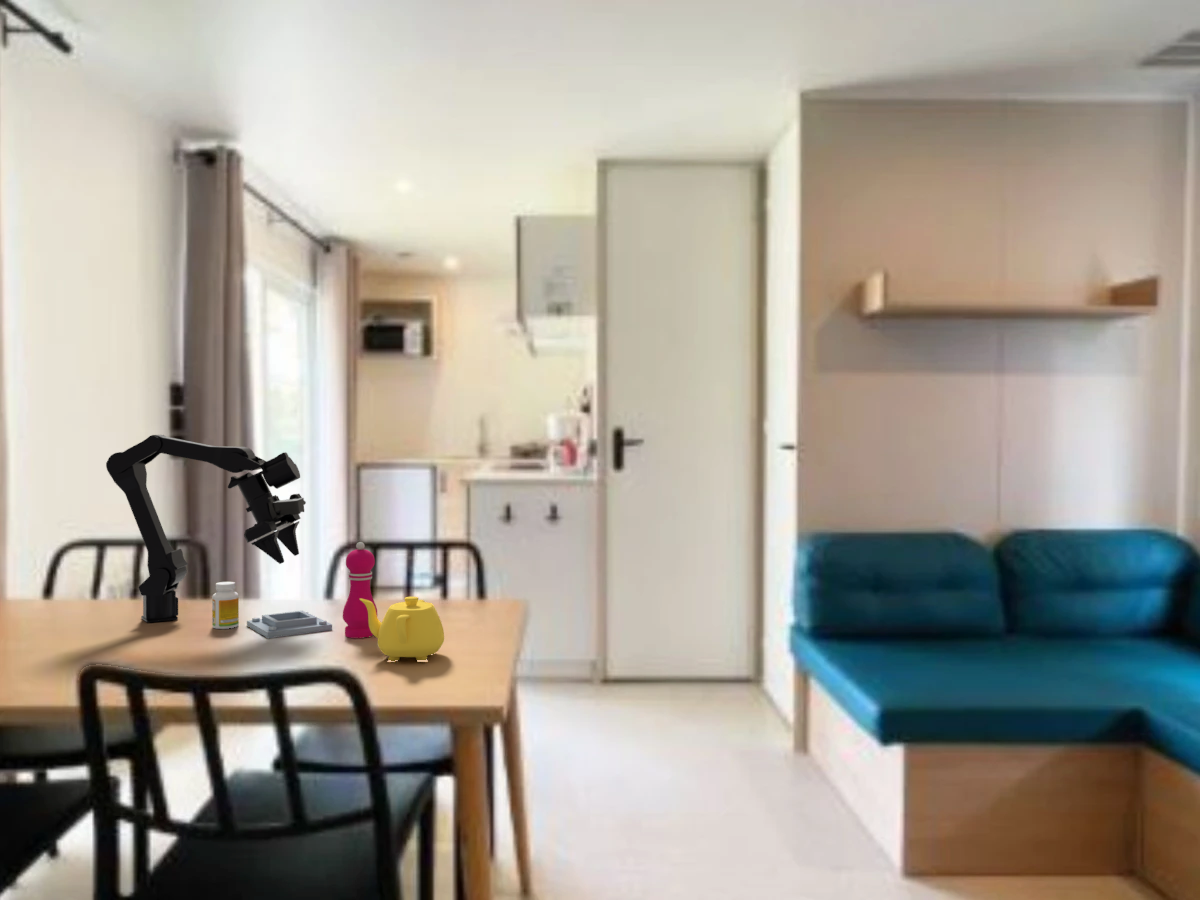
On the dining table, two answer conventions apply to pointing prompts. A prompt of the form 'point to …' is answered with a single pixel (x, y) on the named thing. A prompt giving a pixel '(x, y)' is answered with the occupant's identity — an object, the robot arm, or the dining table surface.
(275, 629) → the base plate
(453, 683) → the dining table surface
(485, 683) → the dining table surface
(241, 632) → the dining table surface
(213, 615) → the supplement bottle
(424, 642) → the teapot
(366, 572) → the pepper mill
